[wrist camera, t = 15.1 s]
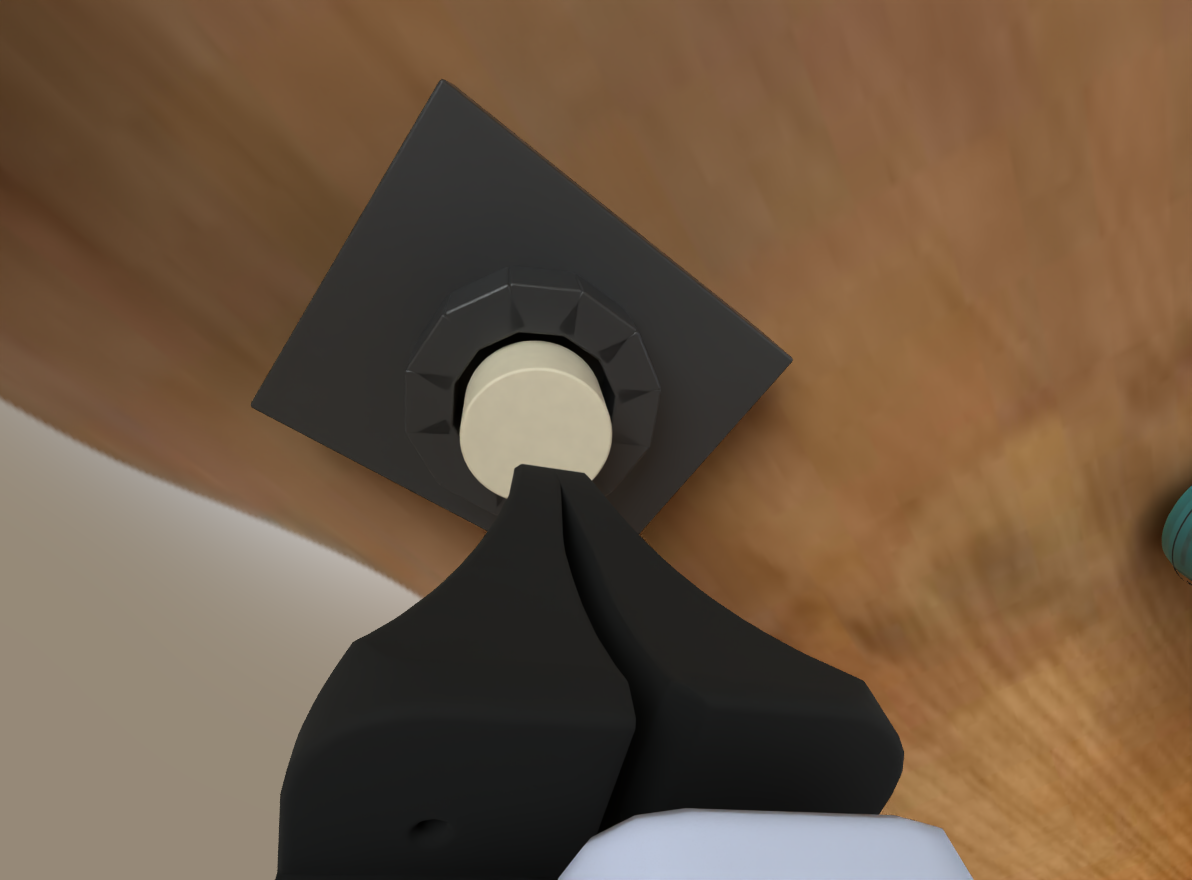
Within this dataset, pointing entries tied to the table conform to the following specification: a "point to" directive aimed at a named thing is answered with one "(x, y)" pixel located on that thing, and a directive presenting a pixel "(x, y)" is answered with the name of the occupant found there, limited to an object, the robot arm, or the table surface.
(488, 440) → the push button
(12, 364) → the table surface
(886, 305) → the table surface
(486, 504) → the button base
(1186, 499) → the beverage bottle
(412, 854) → the robot arm
